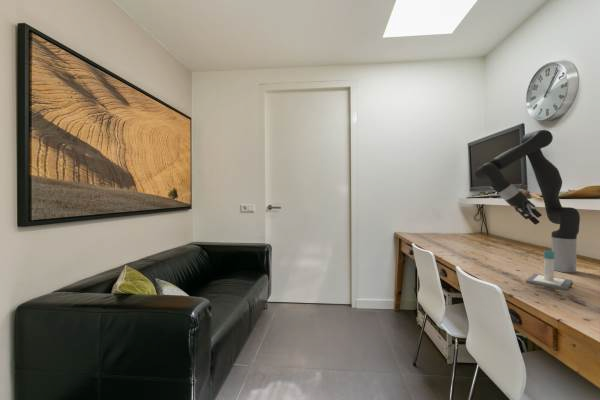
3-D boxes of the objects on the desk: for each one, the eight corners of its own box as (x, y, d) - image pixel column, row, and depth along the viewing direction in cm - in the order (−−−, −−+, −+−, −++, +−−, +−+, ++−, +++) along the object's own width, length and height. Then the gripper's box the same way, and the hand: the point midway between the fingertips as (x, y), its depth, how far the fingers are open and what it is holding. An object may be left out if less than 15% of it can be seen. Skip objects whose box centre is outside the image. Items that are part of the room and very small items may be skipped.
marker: (544, 278, 121) (544, 250, 121) (554, 279, 118) (555, 251, 118) (542, 279, 119) (543, 251, 119) (553, 281, 116) (553, 252, 116)
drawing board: (534, 275, 129) (534, 273, 129) (572, 282, 118) (572, 279, 118) (526, 282, 119) (526, 279, 119) (566, 290, 108) (566, 287, 108)
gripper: (516, 195, 124) (545, 221, 120) (521, 186, 133) (548, 210, 129) (501, 204, 130) (528, 229, 125) (507, 194, 138) (532, 218, 134)
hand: (538, 219), depth 127 cm, fingers open, 8 cm apart
